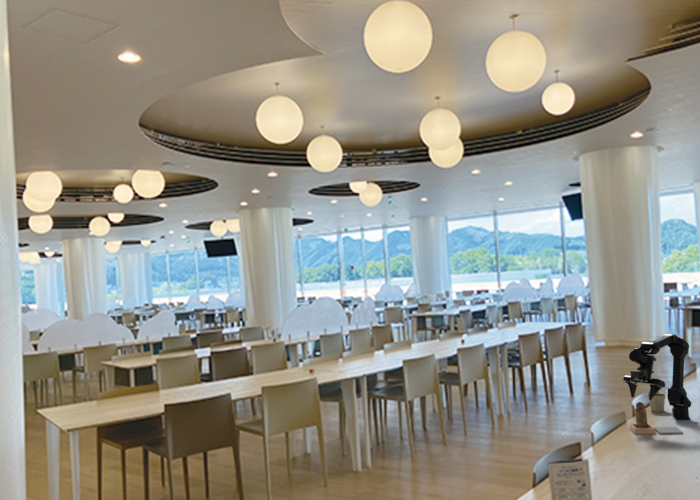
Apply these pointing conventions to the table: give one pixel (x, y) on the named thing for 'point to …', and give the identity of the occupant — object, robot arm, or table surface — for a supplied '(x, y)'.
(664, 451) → the table surface
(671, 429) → the plate
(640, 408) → the pepper mill
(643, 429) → the pink square tray
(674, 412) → the robot arm
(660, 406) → the flower pot
